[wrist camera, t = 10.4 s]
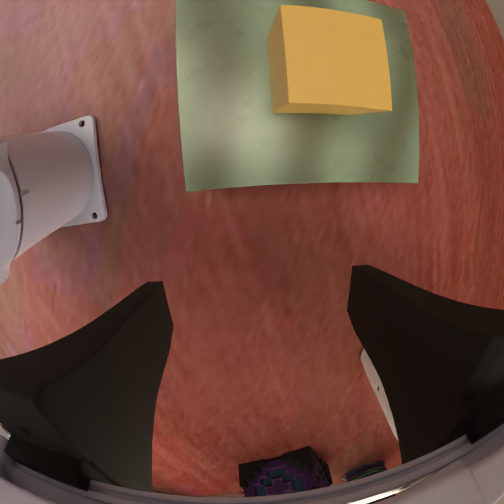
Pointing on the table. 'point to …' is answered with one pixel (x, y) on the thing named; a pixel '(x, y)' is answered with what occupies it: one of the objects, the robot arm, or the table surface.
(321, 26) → the cube
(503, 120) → the table surface
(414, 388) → the robot arm
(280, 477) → the energy cube
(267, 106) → the green slab
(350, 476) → the dark blue cylinder
